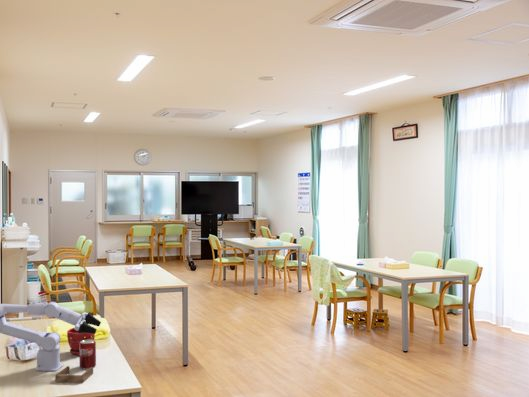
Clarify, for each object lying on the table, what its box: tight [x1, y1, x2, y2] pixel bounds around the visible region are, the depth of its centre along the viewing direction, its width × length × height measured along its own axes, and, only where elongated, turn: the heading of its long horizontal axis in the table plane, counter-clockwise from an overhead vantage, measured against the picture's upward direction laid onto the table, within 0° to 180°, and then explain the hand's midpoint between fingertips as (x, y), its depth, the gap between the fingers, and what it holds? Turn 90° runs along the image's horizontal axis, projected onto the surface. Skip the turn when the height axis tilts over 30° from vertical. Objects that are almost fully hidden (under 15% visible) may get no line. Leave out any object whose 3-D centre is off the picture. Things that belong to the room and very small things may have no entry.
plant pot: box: [66, 327, 96, 356], centre depth 278 cm, size 13×13×12 cm
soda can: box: [78, 339, 97, 370], centre depth 256 cm, size 7×7×12 cm
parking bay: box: [55, 366, 94, 384], centre depth 242 cm, size 12×12×3 cm
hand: (98, 327), depth 256 cm, fingers open, 7 cm apart
